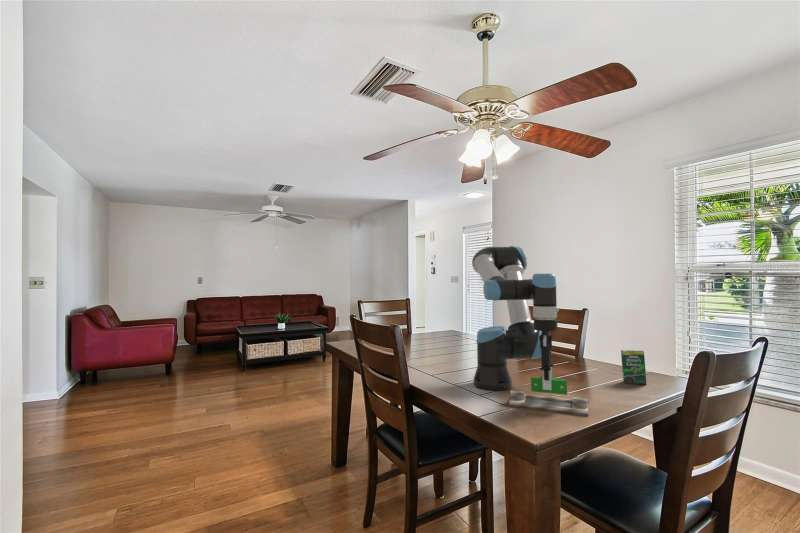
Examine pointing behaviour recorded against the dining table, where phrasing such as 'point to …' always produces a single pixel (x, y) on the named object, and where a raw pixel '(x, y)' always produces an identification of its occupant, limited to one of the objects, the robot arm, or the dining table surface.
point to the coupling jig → (549, 403)
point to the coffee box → (633, 367)
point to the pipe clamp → (554, 385)
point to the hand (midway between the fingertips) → (547, 387)
